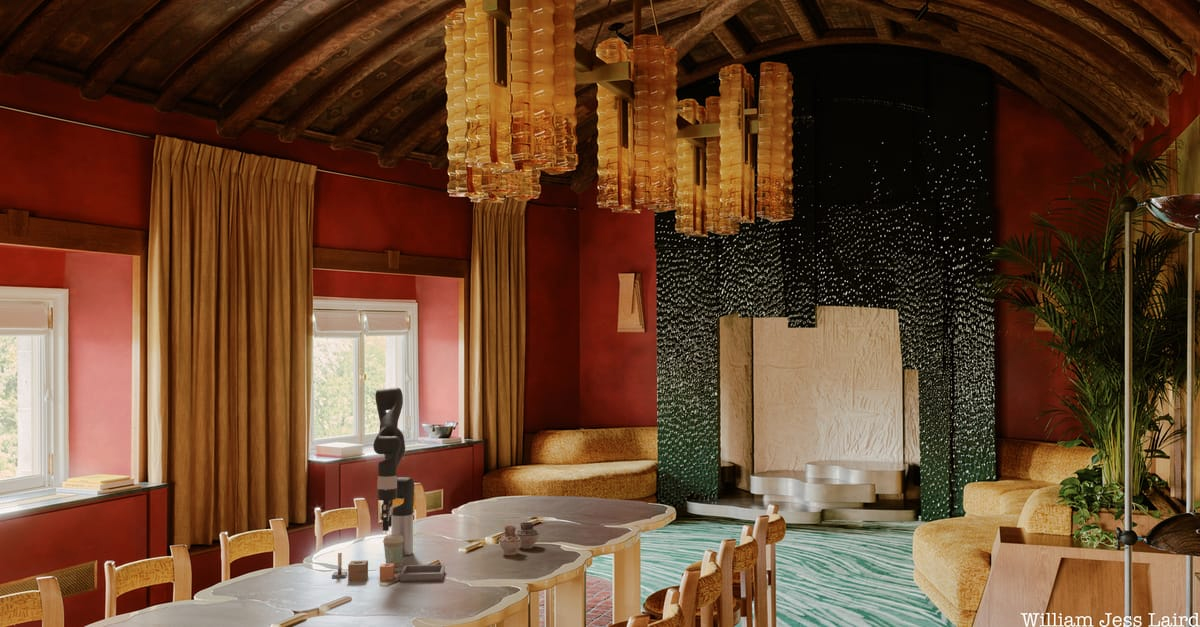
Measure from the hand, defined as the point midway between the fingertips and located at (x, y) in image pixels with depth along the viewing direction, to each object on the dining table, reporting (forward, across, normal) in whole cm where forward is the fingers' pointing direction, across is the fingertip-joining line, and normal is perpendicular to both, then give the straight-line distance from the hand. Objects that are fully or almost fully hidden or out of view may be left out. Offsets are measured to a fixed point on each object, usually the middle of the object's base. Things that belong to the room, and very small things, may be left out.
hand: (387, 528), depth 361 cm
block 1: (+19, +1, -11) cm, 22 cm away
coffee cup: (+19, -19, 0) cm, 27 cm away
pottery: (+19, -41, +52) cm, 69 cm away
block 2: (+19, 0, 0) cm, 19 cm away
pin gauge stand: (+19, -4, -19) cm, 27 cm away
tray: (+19, +1, +14) cm, 24 cm away
